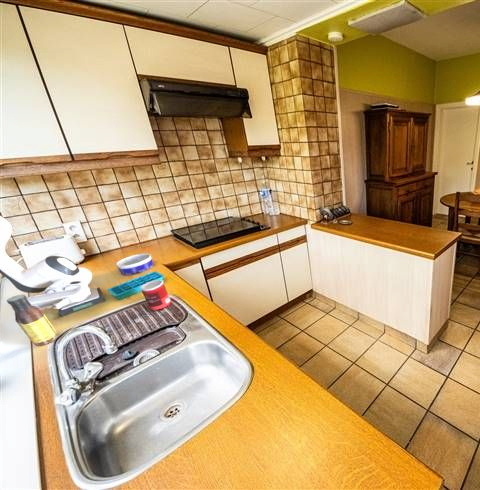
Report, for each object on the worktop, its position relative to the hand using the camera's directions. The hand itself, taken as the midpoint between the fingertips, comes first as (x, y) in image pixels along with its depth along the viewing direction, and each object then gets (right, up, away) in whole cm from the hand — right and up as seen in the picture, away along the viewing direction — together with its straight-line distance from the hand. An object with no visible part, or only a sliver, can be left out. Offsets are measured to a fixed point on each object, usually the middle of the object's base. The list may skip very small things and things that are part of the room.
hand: (38, 311), depth 98 cm
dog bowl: (-9, +11, +53) cm, 55 cm away
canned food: (+31, -2, +18) cm, 36 cm away
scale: (-9, -2, +23) cm, 25 cm away
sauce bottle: (+2, -12, +1) cm, 12 cm away
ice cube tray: (+8, +3, +34) cm, 35 cm away
